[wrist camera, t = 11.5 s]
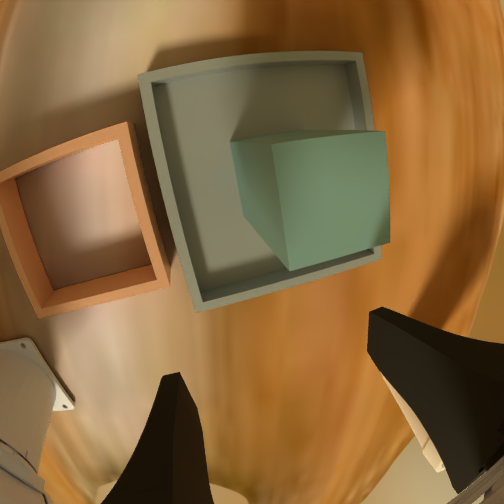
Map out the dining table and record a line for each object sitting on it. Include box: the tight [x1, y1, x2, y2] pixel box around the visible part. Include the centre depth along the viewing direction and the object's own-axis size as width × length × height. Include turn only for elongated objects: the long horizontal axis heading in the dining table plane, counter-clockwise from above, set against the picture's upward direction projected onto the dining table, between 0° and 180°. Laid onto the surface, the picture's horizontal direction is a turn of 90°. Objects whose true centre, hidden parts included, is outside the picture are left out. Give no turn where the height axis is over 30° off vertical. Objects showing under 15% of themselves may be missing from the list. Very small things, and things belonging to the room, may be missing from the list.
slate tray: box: [138, 51, 381, 313], centre depth 17 cm, size 13×14×2 cm
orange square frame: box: [0, 121, 171, 318], centre depth 15 cm, size 9×9×2 cm
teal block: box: [230, 130, 390, 271], centre depth 14 cm, size 4×4×8 cm
